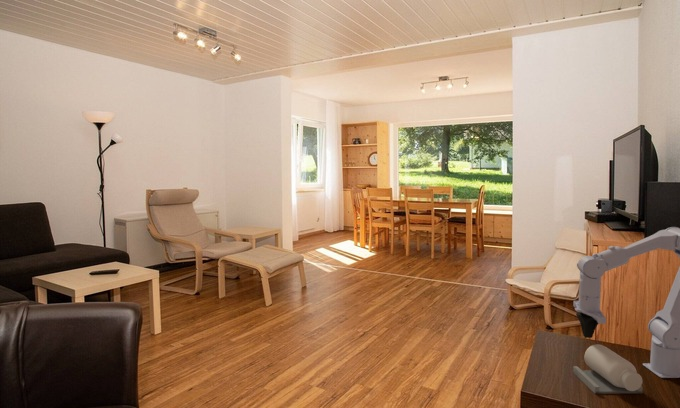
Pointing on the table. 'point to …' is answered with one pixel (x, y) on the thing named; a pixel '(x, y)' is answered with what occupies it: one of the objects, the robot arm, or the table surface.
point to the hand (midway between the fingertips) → (587, 336)
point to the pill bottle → (613, 367)
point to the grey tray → (599, 382)
